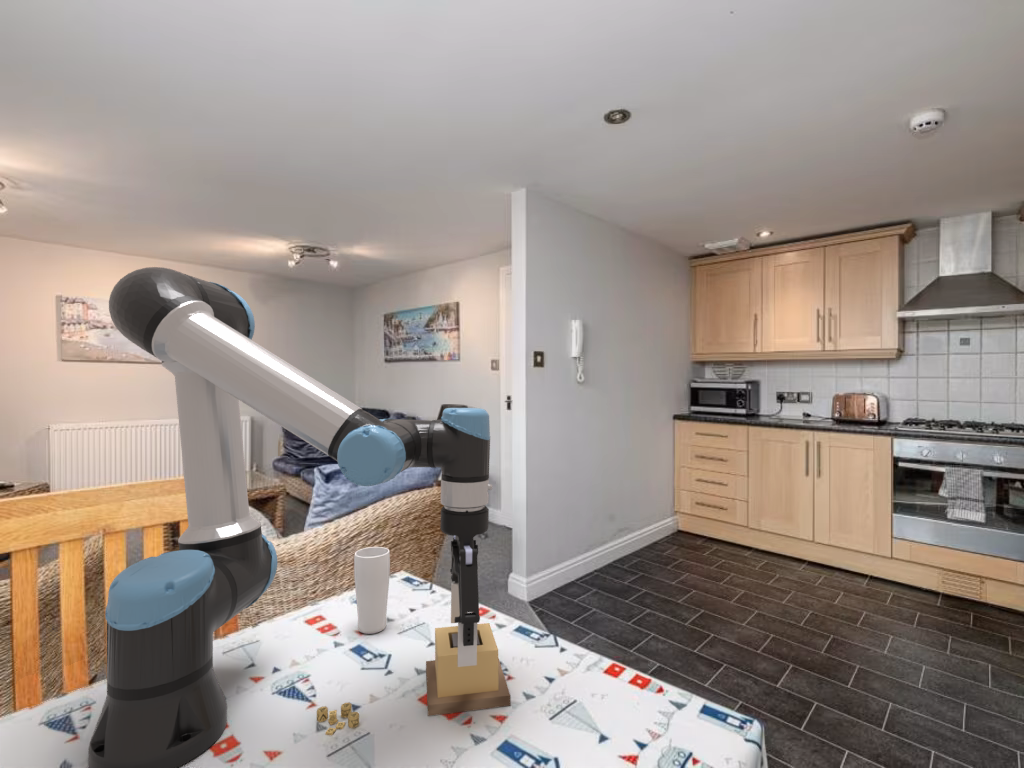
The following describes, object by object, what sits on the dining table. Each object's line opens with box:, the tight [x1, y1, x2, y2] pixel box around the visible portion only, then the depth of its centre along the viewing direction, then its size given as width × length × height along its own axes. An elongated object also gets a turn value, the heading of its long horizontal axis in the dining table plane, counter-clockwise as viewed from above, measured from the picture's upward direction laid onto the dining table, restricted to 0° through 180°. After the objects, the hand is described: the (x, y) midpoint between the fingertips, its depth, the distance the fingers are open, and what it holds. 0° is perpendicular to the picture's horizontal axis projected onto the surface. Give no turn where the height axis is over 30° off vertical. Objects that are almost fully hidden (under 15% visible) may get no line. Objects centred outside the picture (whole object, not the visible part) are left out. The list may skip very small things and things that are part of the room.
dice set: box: [316, 702, 360, 737], centre depth 71 cm, size 5×5×2 cm
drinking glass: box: [353, 546, 391, 635], centre depth 99 cm, size 7×7×15 cm
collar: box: [434, 622, 499, 698], centre depth 79 cm, size 9×9×6 cm
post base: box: [425, 633, 511, 717], centre depth 79 cm, size 12×12×8 cm
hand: (462, 641), depth 79 cm, fingers open, 13 cm apart
